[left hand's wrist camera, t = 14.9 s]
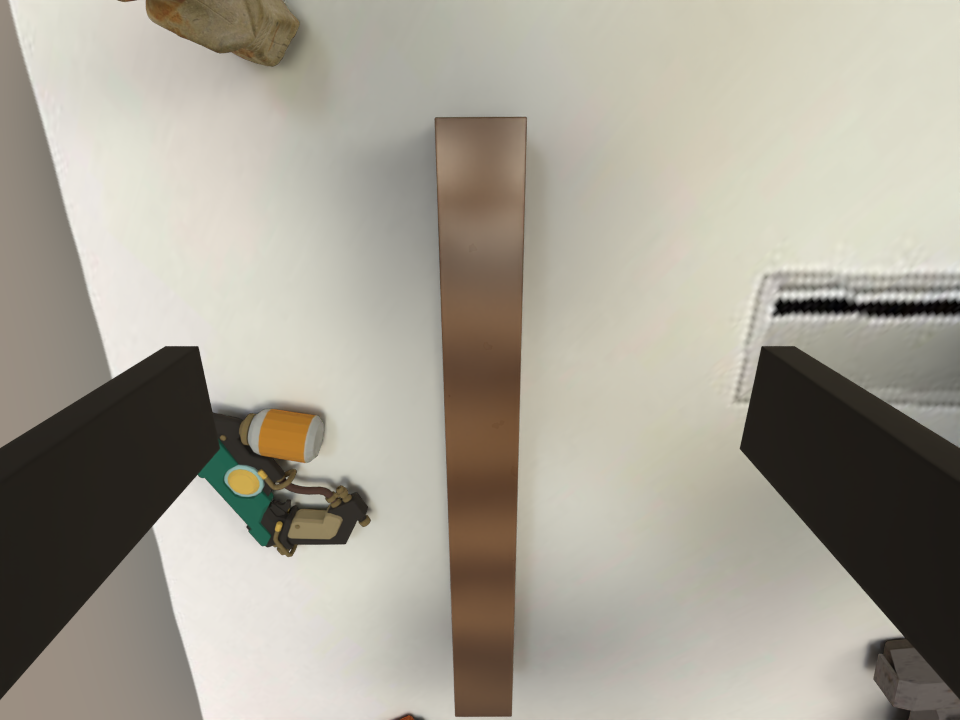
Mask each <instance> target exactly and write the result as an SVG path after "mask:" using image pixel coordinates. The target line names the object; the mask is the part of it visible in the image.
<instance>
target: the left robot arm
mask: <svg viewBox="0 0 960 720" xmlns="http://www.w3.org/2000/svg"><path fill="white" fill-rule="evenodd" d="M219 450H220V446H219V441H218V436H217V432H216V427H215V422H214V417H213V413H212V408H211V403H210V399H209V394H208V389H207V385H206V380H205V375H204V371H203V366H202V361H201V357H200V352H199V347H198V346H165V347H164V348H162V349H160V350H159V351H157V352H155V353H154V354H152V355H151V356H149V357H147V358H146V359H144V360H142V361H141V362H139V363H138V364H136V365H134V366H133V367H131V368H129V369H128V370H126V371H125V372H123V373H121V374H120V375H118V376H117V377H115V378H113V379H112V380H110V381H109V382H107V383H105V384H104V385H102V386H100V387H99V388H97V389H95V390H94V391H92V392H91V393H89V394H87V395H86V396H84V397H82V398H81V399H79V400H78V401H76V402H74V403H73V404H71V405H70V406H68V407H66V408H65V409H63V410H61V411H60V412H58V413H57V414H55V415H53V416H52V417H50V418H48V419H47V420H45V421H44V422H42V423H40V424H39V425H37V426H36V427H34V428H32V429H31V430H29V431H27V432H26V433H24V434H22V435H21V436H19V437H18V438H16V439H14V440H13V441H11V442H10V443H8V444H6V445H5V446H3V447H1V448H0V699H1V698H2V697H3V696H4V695H5V694H6V693H7V691H8V690H9V689H10V688H11V687H12V686H13V685H14V683H15V682H16V681H17V680H18V679H19V678H20V677H21V675H22V674H23V673H24V672H25V671H26V670H27V669H28V667H29V666H30V665H31V664H32V663H33V662H34V661H35V659H36V658H37V657H38V656H39V655H40V654H41V653H42V651H43V650H44V649H45V648H46V647H47V646H48V645H49V643H50V642H51V641H52V640H53V639H54V638H55V637H56V636H57V634H58V633H59V632H60V631H61V630H62V629H63V627H64V626H65V625H66V624H67V623H68V622H69V621H70V620H71V618H72V617H73V616H74V615H75V614H76V613H77V612H78V610H79V609H80V608H81V607H82V606H83V605H84V604H85V602H86V601H87V600H88V599H89V598H90V597H91V596H92V594H93V593H94V592H95V591H96V590H97V589H98V588H99V586H100V585H101V584H102V583H103V582H104V581H105V580H106V578H107V577H108V576H109V575H110V574H111V573H112V572H113V570H114V569H115V568H116V567H117V566H118V565H119V564H120V562H121V561H122V560H123V559H124V558H125V557H126V556H127V555H128V553H129V552H130V551H131V550H132V549H133V548H134V546H135V545H136V544H137V543H138V542H139V541H140V540H141V539H142V537H143V536H144V535H145V534H146V533H147V532H148V531H149V529H150V528H151V527H152V526H153V525H154V524H155V523H156V521H157V520H158V519H159V518H160V517H161V516H162V515H163V513H164V512H165V511H166V510H167V509H168V508H169V507H170V505H171V504H172V503H173V502H174V501H175V500H176V499H177V497H178V496H179V495H180V494H181V493H182V492H183V491H184V489H185V488H186V487H187V486H188V485H189V484H190V483H191V482H192V480H193V479H194V478H195V477H196V476H197V475H198V474H199V472H200V471H201V470H202V469H203V468H204V467H205V466H206V464H207V463H208V462H209V461H210V460H211V459H212V458H213V456H214V455H215V454H216V453H217V452H218V451H219ZM740 450H741V451H742V452H743V453H744V454H745V455H746V456H747V458H748V459H749V460H750V461H751V462H752V463H753V464H754V466H755V467H756V468H757V469H758V470H759V471H760V472H761V474H762V475H763V476H764V477H765V478H766V479H767V480H768V482H769V483H770V484H771V485H772V486H773V487H774V488H775V489H776V491H777V492H778V493H779V494H780V495H781V496H782V497H783V499H784V500H785V501H786V502H787V503H788V504H789V505H790V507H791V508H792V509H793V510H794V511H795V512H796V513H797V515H798V516H799V517H800V518H801V519H802V520H803V521H804V523H805V524H806V525H807V526H808V527H809V528H810V529H811V531H812V532H813V533H814V534H815V535H816V536H817V537H818V539H819V540H820V541H821V542H822V543H823V544H824V545H825V547H826V548H827V549H828V550H829V551H830V552H831V553H832V555H833V556H834V557H835V558H836V559H837V560H838V561H839V563H840V564H841V565H842V566H843V567H844V568H845V569H846V570H847V572H848V573H849V574H850V575H851V576H852V577H853V578H854V580H855V581H856V582H857V583H858V584H859V585H860V586H861V588H862V589H863V590H864V591H865V592H866V593H867V594H868V596H869V597H870V598H871V599H872V600H873V601H874V602H875V604H876V605H877V606H878V607H879V608H880V609H881V610H882V612H883V613H884V614H885V615H886V616H887V617H888V618H889V620H890V621H891V622H892V623H893V624H894V625H895V626H896V628H897V629H898V630H899V631H900V632H901V633H902V634H903V636H904V637H905V638H906V639H907V640H908V641H909V642H910V644H911V645H912V646H913V647H914V648H915V649H916V650H917V651H918V653H919V654H920V655H921V656H922V657H923V658H924V659H925V661H926V662H927V663H928V664H929V665H930V666H931V667H932V669H933V670H934V671H935V672H936V673H937V674H938V675H939V677H940V678H941V679H942V680H943V681H944V682H945V683H946V685H947V686H948V687H949V688H950V689H951V690H952V691H953V693H954V694H955V695H956V696H957V697H958V698H959V699H960V448H959V447H957V446H955V445H954V444H952V443H951V442H949V441H947V440H946V439H944V438H942V437H941V436H939V435H938V434H936V433H934V432H933V431H931V430H929V429H928V428H926V427H925V426H923V425H921V424H920V423H918V422H916V421H915V420H913V419H912V418H910V417H908V416H907V415H905V414H903V413H902V412H900V411H899V410H897V409H895V408H894V407H892V406H891V405H889V404H887V403H886V402H884V401H882V400H881V399H879V398H878V397H876V396H874V395H873V394H871V393H869V392H868V391H866V390H865V389H863V388H861V387H860V386H858V385H856V384H855V383H853V382H852V381H850V380H848V379H847V378H845V377H843V376H842V375H840V374H839V373H837V372H835V371H834V370H832V369H831V368H829V367H827V366H826V365H824V364H822V363H821V362H819V361H818V360H816V359H814V358H813V357H811V356H809V355H808V354H806V353H805V352H803V351H801V350H800V349H798V348H796V347H795V346H762V347H761V352H760V357H759V361H758V366H757V371H756V375H755V380H754V385H753V389H752V394H751V399H750V403H749V408H748V413H747V417H746V422H745V427H744V432H743V436H742V441H741V446H740Z"/></svg>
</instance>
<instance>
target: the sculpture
mask: <svg viewBox="0 0 960 720" xmlns="http://www.w3.org/2000/svg"><path fill="white" fill-rule="evenodd" d="M118 1H121V2H128V1H135V0H118ZM146 11H147V15H148V17H149V18H150V19H151V20H152V21H153V22H154V23H156V24H157V25H159V26H161V27H163V28H165V29H167V30H169V31H171V32H173V33H175V34H177V35H178V36H180V37H182V38H185V39H188V40H190V41H193V42H195V43H197V44H200V45H202V46H204V47H206V48H208V49H210V50H212V51H215V52H217V53H228V52H232V53H234V54H236V55H238V56H240V57H242V58H244V59H246V60H249V61H252V62H254V63H257V64H261V65H265V66H275V65H277V64H278V63H279V62H280V61H281V59H282V58H283V56H284V54H285V51H286V49H287V47H288V45H289V44H290V42H291V40H292V38H293V37H294V36H295V34H296V32H297V30H298V27H299V25H300V23H299V21H298V20H297V18H296V17H295V16H294V15H293V14H292V13H291V12H290V11H289V9H288V8H287V6H286V5H285V3H284V2H283V1H282V0H146Z"/></svg>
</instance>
